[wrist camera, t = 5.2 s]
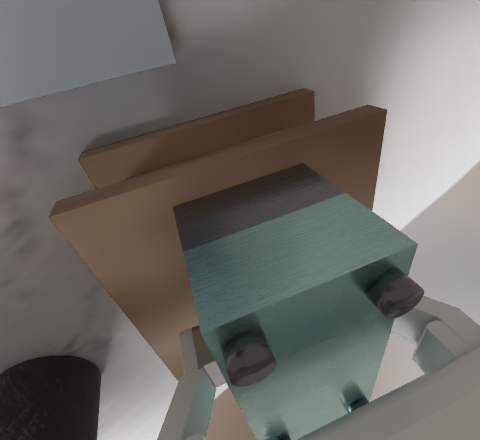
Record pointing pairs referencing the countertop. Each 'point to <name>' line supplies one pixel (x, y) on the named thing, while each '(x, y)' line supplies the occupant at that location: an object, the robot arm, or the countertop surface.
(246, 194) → the block
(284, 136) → the stand
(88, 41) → the stand
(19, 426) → the travel mug
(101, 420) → the countertop surface
